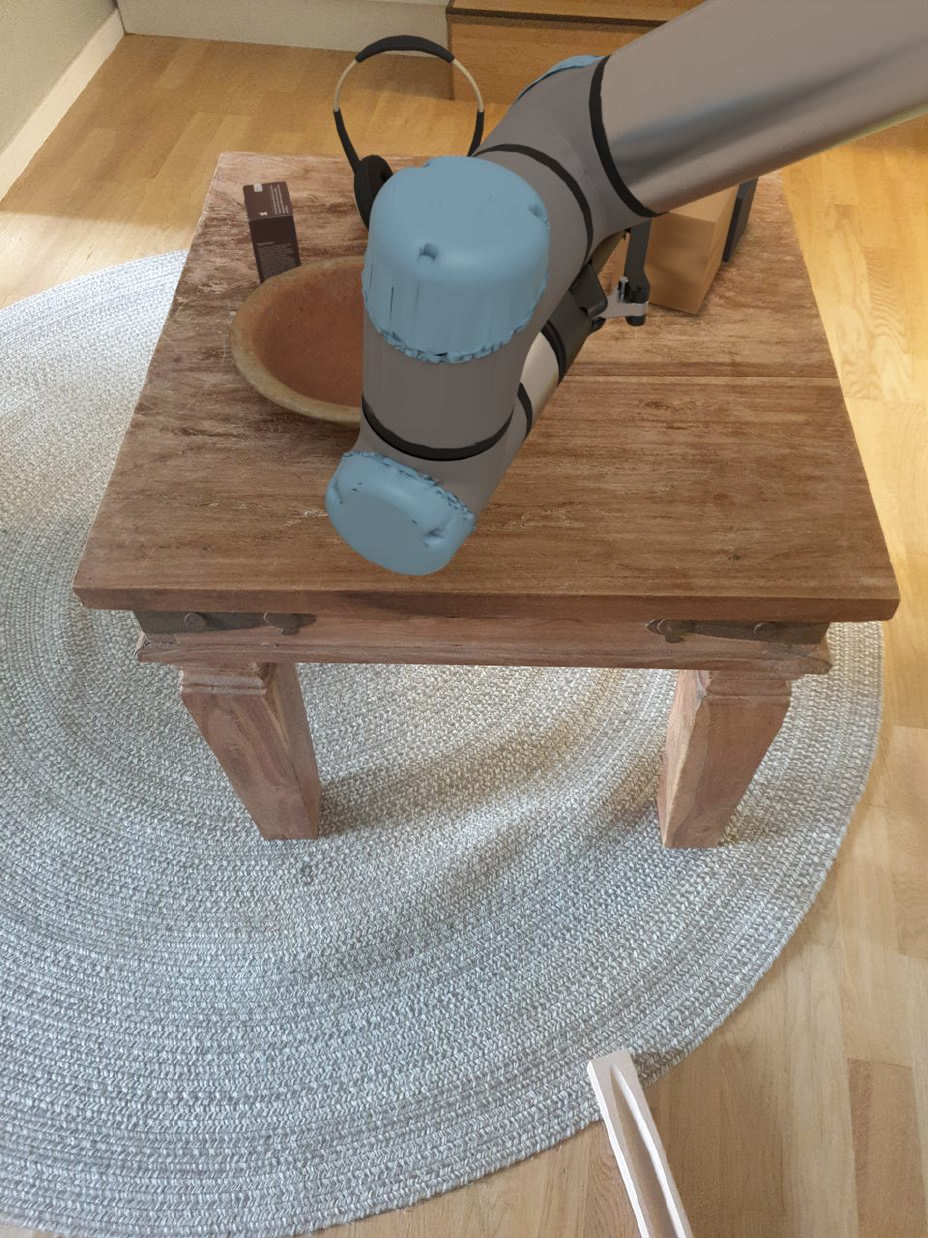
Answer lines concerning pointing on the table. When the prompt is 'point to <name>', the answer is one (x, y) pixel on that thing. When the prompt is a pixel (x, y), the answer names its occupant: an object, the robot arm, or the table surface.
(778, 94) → the robot arm
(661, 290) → the push block
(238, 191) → the table surface
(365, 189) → the headphones
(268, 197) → the box
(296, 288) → the bowl
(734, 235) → the block
